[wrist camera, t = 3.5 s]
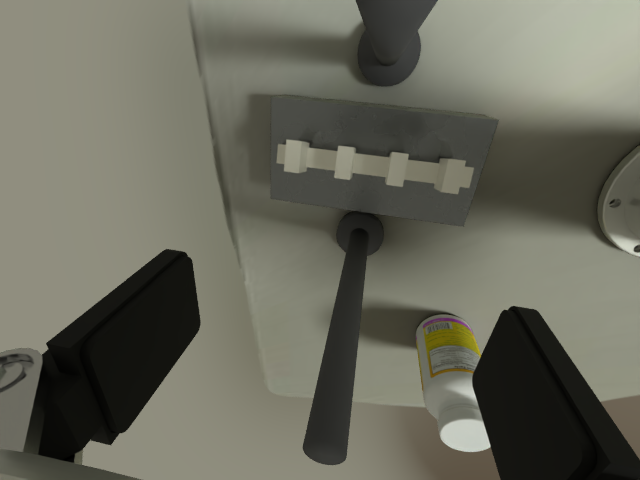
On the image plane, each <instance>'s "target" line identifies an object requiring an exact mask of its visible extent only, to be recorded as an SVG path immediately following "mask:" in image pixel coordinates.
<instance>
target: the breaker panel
mask: <svg viewBox="0 0 640 480" xmlns="http://www.w3.org/2000/svg"><path fill="white" fill-rule="evenodd" d="M498 121H499V120H497V119H495V118H492V117H489V116H486V115H481V114H471V113H461V112H451V111H441V110H431V109H421V108H411V107H401V106H391V105H381V104H371V103H361V102H351V101H341V100H331V99H321V98H311V97H301V96H291V95H280V96H273V97H271V199H276V200H283V201H290V202H297V203H304V204H310V205H317V206H324V207H331V208H338V209H345V210H352V211H359V212H366V213H373V214H380V215H387V216H394V217H401V218H408V219H414V220H421V221H428V222H435V223H442V224H449V225H456V226H464V223H465V220H466V217H467V214H468V211H469V208H470V205H471V202H472V199H473V196H474V193H475V190H476V187H477V184H478V181H479V178H480V175H481V172H482V169H483V166H484V163H485V160H486V157H487V154H488V151H489V148H490V145H491V142H492V139H493V136H494V133H495V130H496V127H497V124H498ZM286 139H287V140H296V141H303V142H308V143H309V148H316V149H324V150H332V151H338V146H346V147H354V148H356V153H357V154H365V155H374V156H382V157H389V156H390V152H397V153H405V154H409V156H408V160H415V161H423V162H432V163H439V161H440V158H445V159H456V160H464V161H466V163H465V167H473V168H474V171H473V175H472V179H471V183H470V187H469V188H465V187H460V188H459V192H458V194H452V193H444V192H440V191H438V190H436V189H434V183H426V182H419V181H411V180H404V182H403V187H399V186H391V185H386V183H385V179H386V177H380V176H372V175H364V174H356V173H353V174H352V178H351V179H350V180H346V179H338V178H334V175H335V171H333V170H325V169H318V168H310V167H307V171H306V172H302V173H293V172H285V171H284V164H279V163H277V150H278V144H283V145H286Z"/></svg>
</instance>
